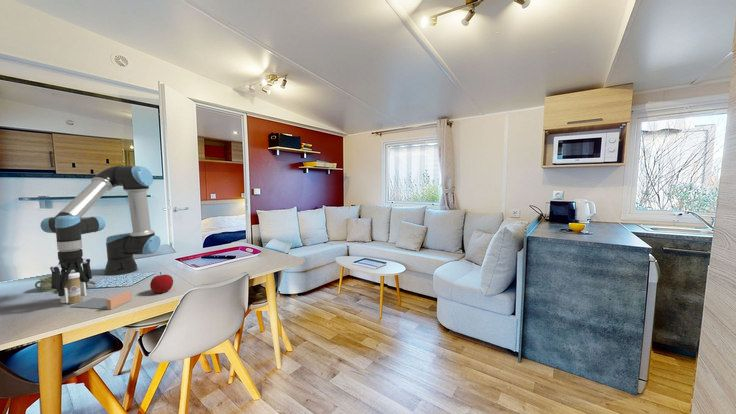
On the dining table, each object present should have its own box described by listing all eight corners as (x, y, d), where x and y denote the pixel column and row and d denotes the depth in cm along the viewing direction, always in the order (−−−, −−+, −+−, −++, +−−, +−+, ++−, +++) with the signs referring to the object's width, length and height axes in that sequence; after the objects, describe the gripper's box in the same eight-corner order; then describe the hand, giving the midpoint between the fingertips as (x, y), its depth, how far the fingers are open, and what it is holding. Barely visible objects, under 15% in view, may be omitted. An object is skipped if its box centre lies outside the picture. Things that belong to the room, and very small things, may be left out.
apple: (149, 296, 130) (148, 276, 129) (152, 290, 137) (151, 271, 137) (172, 292, 135) (171, 273, 134) (174, 286, 142) (173, 268, 141)
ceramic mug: (64, 293, 132) (63, 278, 132) (69, 288, 139) (68, 273, 138) (94, 288, 139) (94, 274, 138) (97, 284, 145) (97, 270, 145)
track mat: (93, 298, 127) (92, 289, 127) (131, 300, 125) (130, 291, 125) (70, 306, 118) (69, 297, 118) (111, 309, 116) (110, 300, 116)
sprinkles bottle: (70, 304, 120) (67, 275, 119) (64, 303, 122) (62, 274, 121) (83, 300, 124) (81, 272, 123) (78, 299, 126) (76, 271, 125)
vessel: (34, 294, 130) (32, 282, 130) (36, 289, 136) (35, 277, 136) (70, 288, 139) (69, 276, 138) (71, 283, 145) (70, 272, 144)
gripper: (87, 244, 131) (90, 290, 133) (34, 255, 112) (39, 308, 114) (100, 245, 130) (104, 291, 132) (49, 255, 111) (54, 309, 113)
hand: (74, 298), depth 123 cm, fingers open, 6 cm apart
